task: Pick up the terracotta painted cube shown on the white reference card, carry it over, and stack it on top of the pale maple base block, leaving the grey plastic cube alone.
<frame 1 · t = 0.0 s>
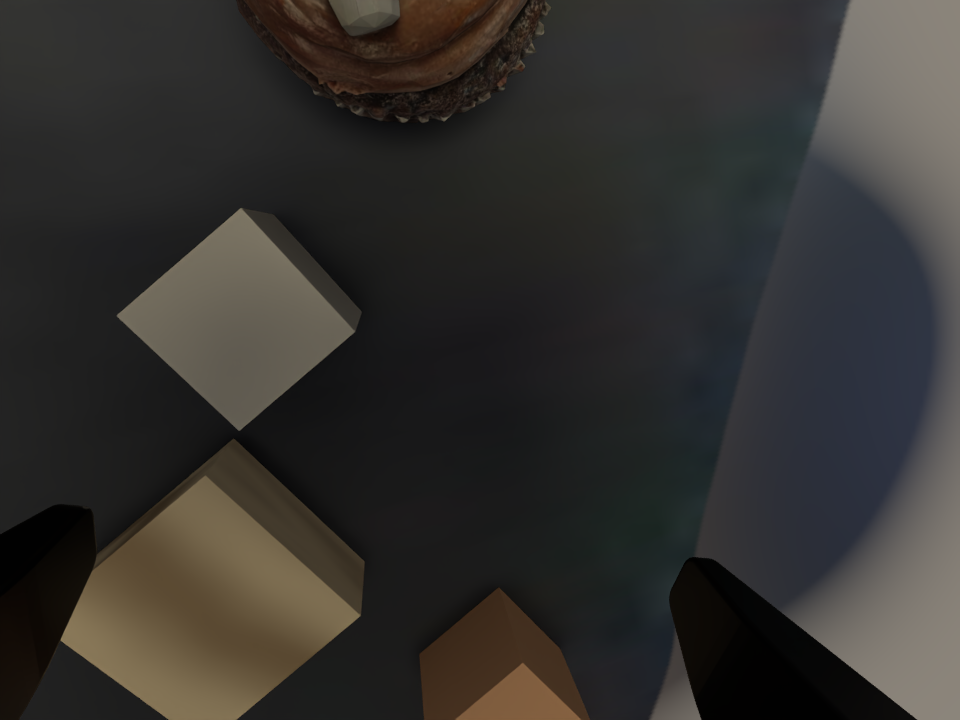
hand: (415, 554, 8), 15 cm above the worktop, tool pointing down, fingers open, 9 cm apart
cupcake: (397, 13, 21), on the worktop
terracotta cube: (491, 650, 27), on the worktop
grey plastic cube: (271, 305, 22), on the worktop
maple base block: (233, 558, 24), on the worktop
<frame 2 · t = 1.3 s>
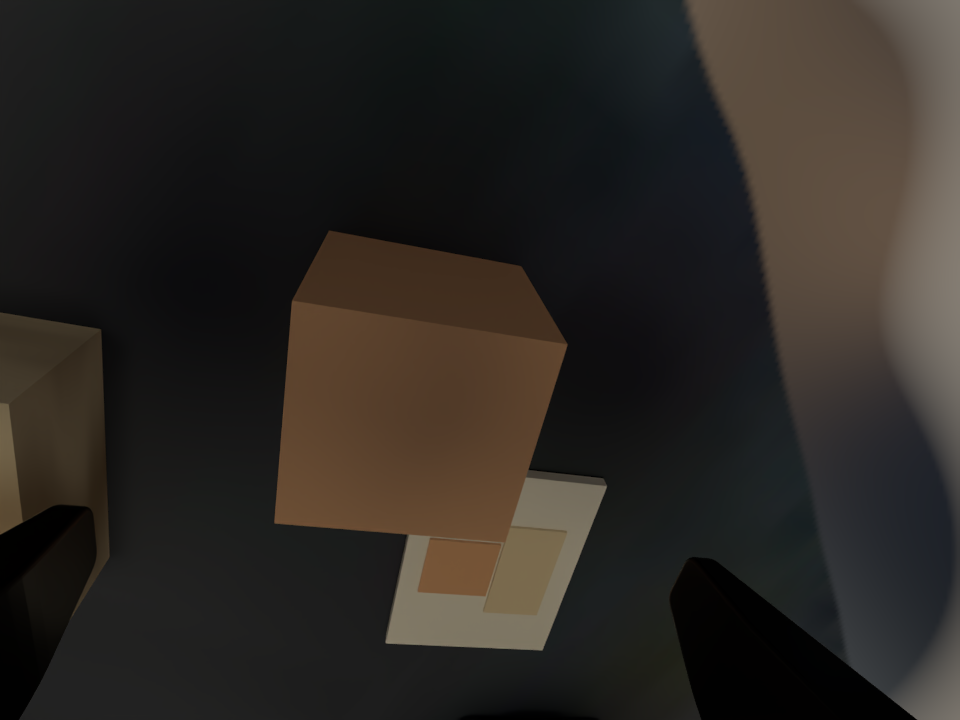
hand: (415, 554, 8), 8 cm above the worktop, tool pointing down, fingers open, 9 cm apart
terracotta cube: (412, 335, 15), on the worktop
reference card: (488, 560, 19), on the worktop
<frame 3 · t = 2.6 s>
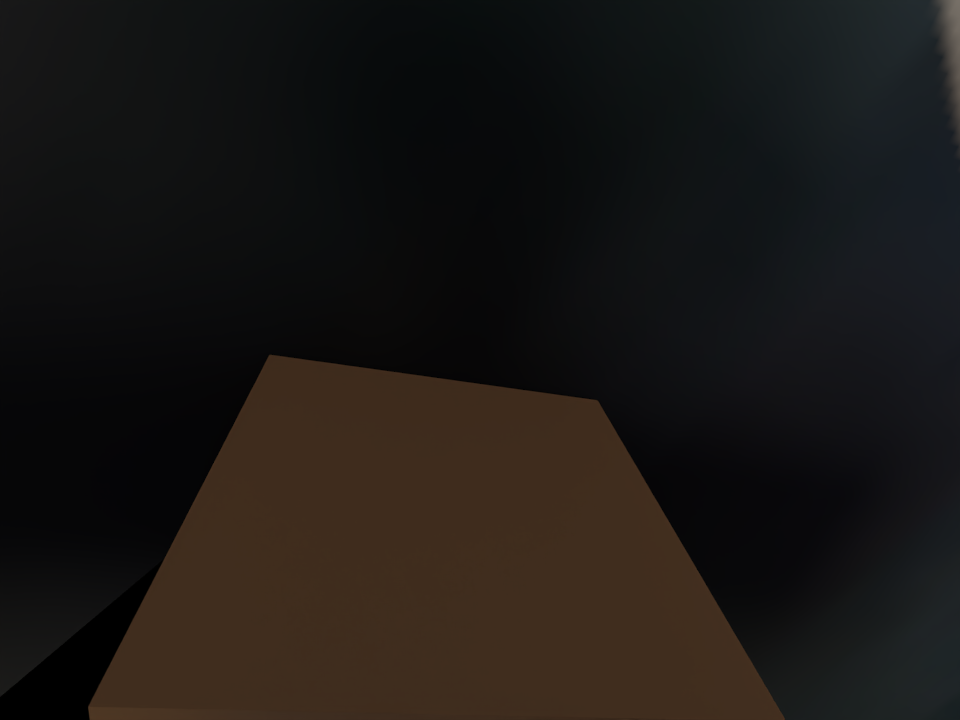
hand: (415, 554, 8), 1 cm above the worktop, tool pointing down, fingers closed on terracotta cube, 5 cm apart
terracotta cube: (415, 507, 9), on the worktop, touching gripper
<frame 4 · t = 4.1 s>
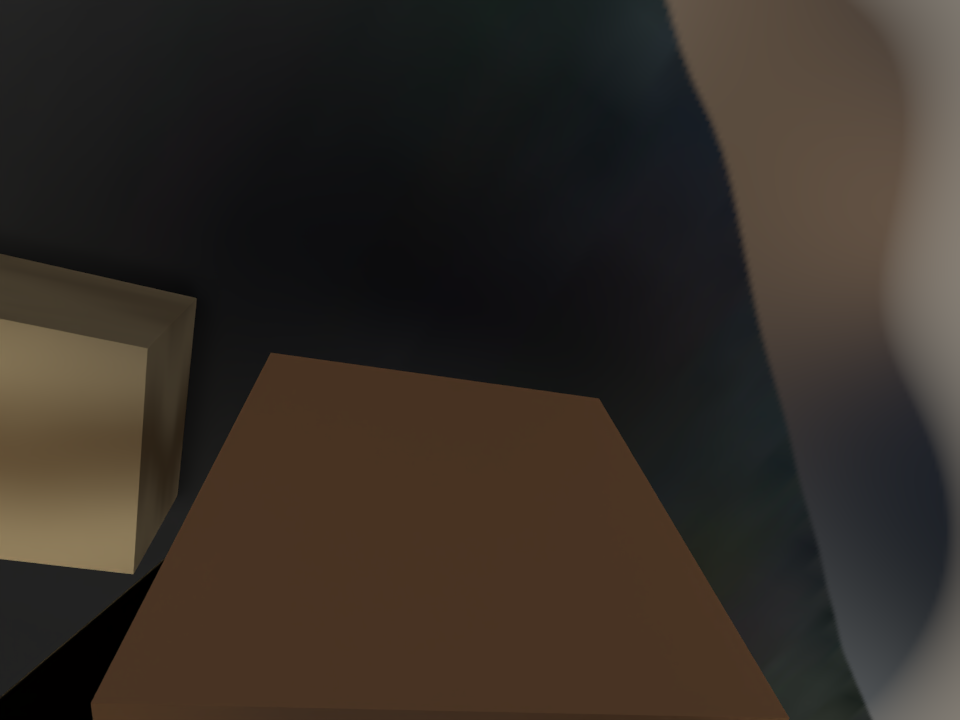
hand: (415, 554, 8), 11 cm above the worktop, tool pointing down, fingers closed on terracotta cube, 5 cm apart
terracotta cube: (416, 505, 9), point 10 cm above the worktop, touching gripper
maple base block: (59, 376, 18), on the worktop
when the fingers open (6 cm above the worktop, at t = 6.0 s): terracotta cube drops 2 cm, resting on maple base block.
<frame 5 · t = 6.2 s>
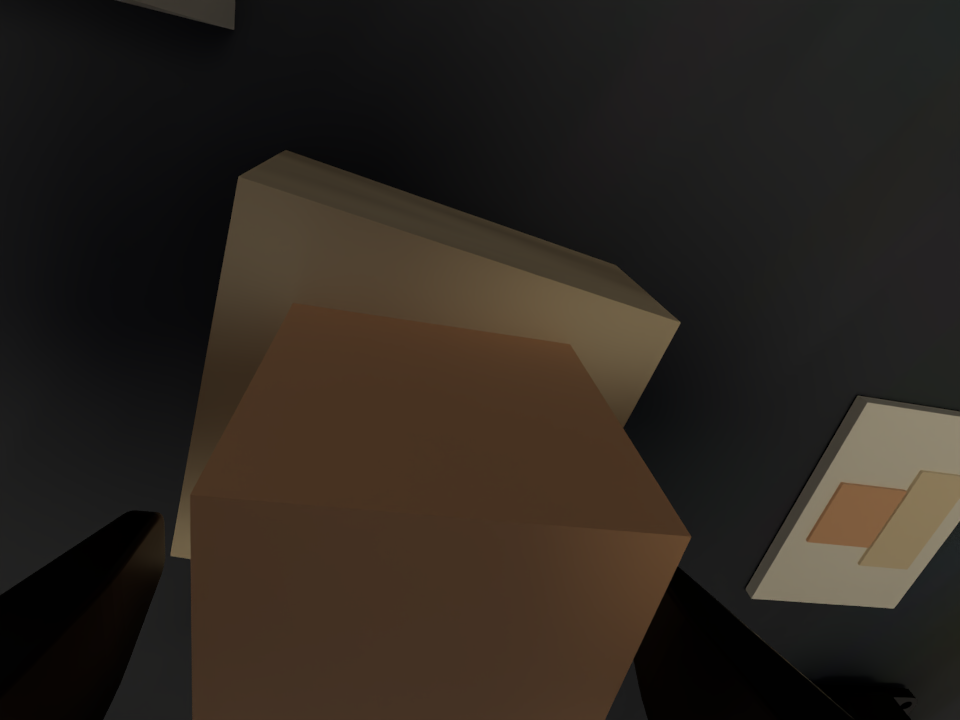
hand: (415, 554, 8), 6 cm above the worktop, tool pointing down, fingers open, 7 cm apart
terracotta cube: (416, 440, 11), point 4 cm above the worktop, touching maple base block
maple base block: (411, 356, 15), on the worktop, touching terracotta cube
reference card: (873, 509, 19), on the worktop
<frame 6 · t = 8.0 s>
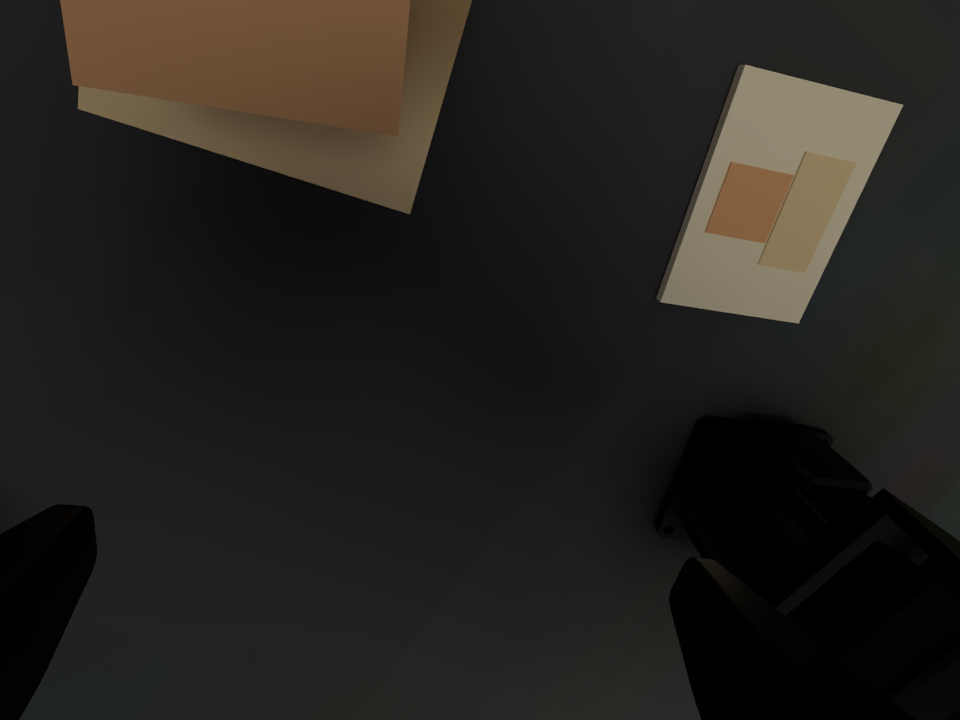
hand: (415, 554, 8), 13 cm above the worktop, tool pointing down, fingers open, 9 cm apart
maple base block: (311, 6, 16), on the worktop, touching terracotta cube
reference card: (768, 206, 20), on the worktop
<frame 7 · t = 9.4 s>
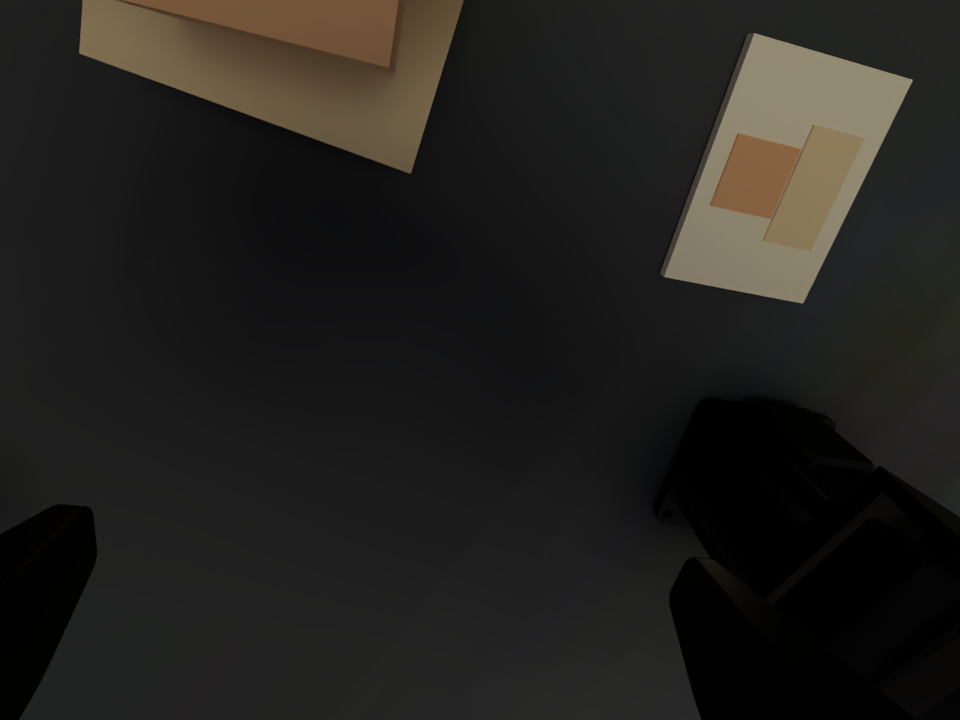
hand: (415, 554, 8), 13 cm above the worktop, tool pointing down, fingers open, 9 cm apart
reference card: (774, 182, 20), on the worktop
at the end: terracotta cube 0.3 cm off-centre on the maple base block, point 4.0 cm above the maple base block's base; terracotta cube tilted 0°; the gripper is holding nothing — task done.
